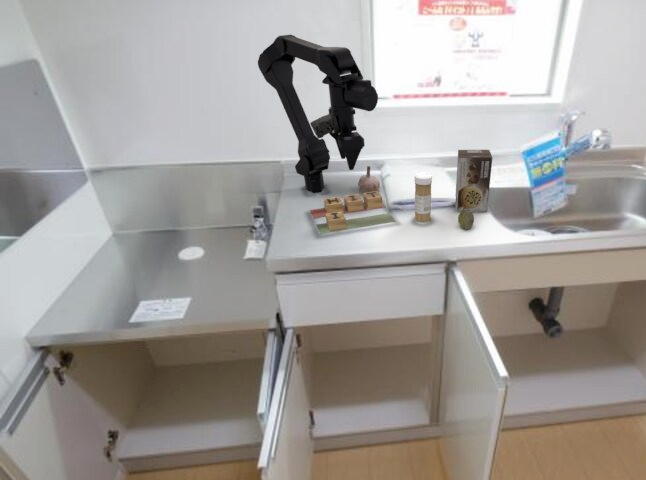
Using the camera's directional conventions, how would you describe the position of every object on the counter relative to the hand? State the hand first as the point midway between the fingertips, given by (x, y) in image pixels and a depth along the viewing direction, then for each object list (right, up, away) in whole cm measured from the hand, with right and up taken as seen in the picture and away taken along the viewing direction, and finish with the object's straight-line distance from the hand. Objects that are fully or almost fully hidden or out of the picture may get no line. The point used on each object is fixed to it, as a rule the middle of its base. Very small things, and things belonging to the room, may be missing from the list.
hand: (347, 164), depth 125 cm
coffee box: (+36, -11, +7) cm, 38 cm away
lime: (+33, -19, -3) cm, 38 cm away
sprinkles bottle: (+21, -17, 0) cm, 27 cm away
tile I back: (+1, -11, +4) cm, 12 cm away
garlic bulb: (+5, -4, +15) cm, 16 cm away
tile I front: (-2, -19, -5) cm, 20 cm away
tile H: (-4, -13, +2) cm, 14 cm away
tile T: (+7, -10, +5) cm, 13 cm away
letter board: (+1, -15, 0) cm, 15 cm away
